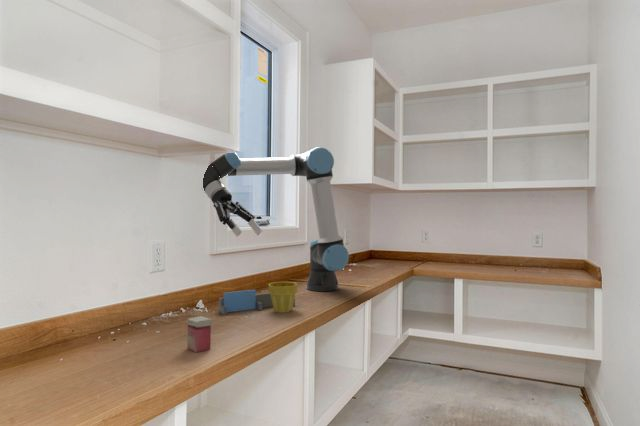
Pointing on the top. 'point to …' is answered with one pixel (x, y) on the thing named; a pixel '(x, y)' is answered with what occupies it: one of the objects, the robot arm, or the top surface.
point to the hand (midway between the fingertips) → (250, 233)
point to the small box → (199, 334)
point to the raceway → (244, 301)
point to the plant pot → (282, 295)
